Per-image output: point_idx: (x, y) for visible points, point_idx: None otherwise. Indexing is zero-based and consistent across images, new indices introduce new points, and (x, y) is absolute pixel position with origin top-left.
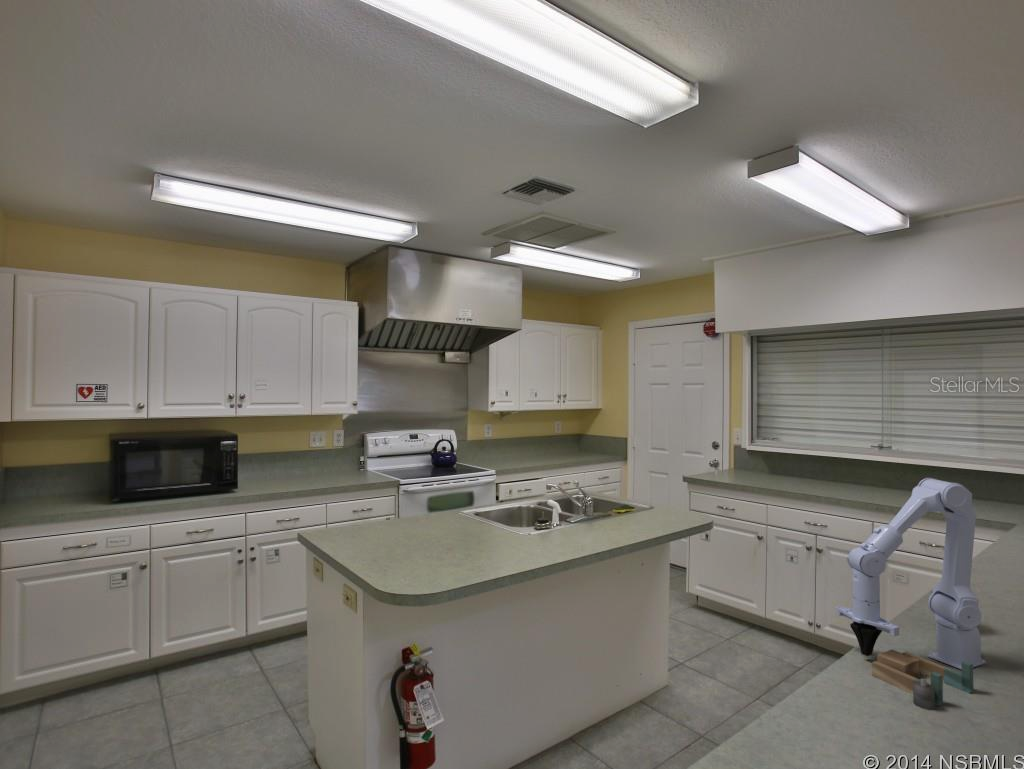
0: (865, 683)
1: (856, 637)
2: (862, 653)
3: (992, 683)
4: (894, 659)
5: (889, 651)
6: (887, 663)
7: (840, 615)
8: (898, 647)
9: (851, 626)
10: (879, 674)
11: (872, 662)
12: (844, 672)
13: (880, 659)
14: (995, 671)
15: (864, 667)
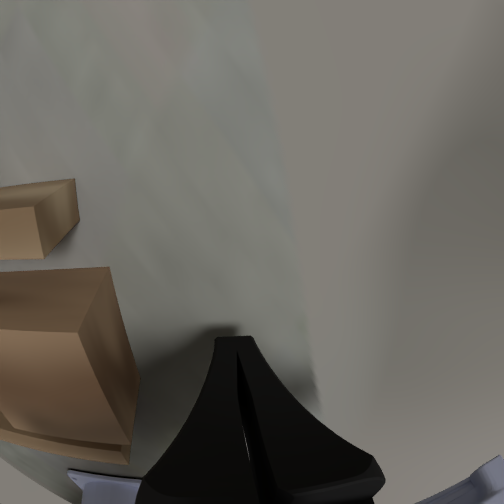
0: (33, 49)
1: (301, 405)
2: (245, 338)
3: (10, 450)
4: (7, 354)
5: (110, 422)
6: (27, 308)
7: (476, 472)
8: None
9: (364, 466)
10: (21, 191)
11: (30, 209)
12: (181, 40)
13: (63, 314)
14: (67, 490)
15: (169, 238)
